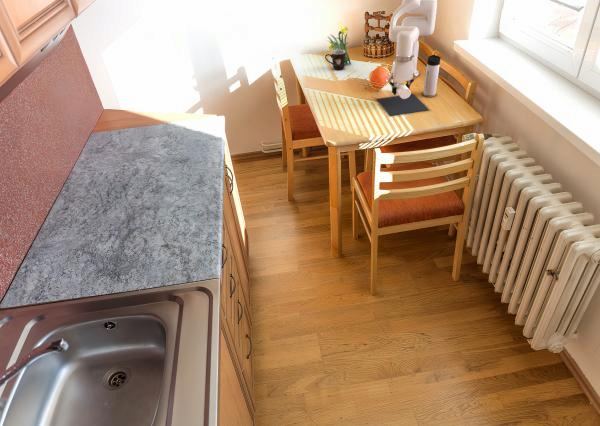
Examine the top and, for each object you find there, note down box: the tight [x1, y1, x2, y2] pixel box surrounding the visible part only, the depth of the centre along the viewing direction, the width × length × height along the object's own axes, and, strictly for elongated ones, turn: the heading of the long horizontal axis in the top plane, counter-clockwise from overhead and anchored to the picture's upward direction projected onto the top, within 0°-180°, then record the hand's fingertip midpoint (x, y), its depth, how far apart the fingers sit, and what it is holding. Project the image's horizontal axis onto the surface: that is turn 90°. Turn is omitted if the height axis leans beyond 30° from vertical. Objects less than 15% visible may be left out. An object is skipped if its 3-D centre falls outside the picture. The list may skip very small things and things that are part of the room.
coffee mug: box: [324, 49, 346, 71], centre depth 270 cm, size 12×9×10 cm
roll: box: [396, 82, 412, 99], centre depth 227 cm, size 6×12×6 cm, turn 13°
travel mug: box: [423, 54, 441, 98], centre depth 230 cm, size 6×7×20 cm
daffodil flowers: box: [326, 21, 352, 66], centre depth 284 cm, size 17×15×35 cm
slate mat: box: [376, 93, 430, 117], centre depth 229 cm, size 20×20×1 cm
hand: (400, 92), depth 228 cm, fingers closed on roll, 6 cm apart
